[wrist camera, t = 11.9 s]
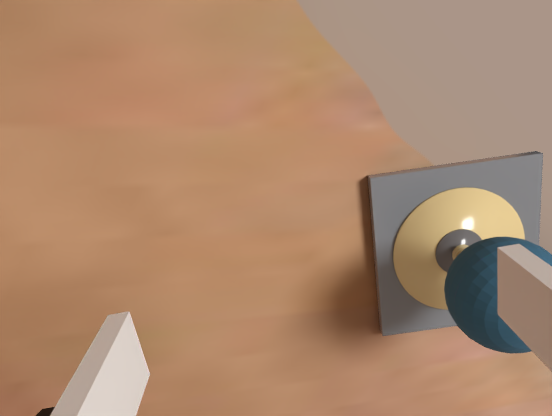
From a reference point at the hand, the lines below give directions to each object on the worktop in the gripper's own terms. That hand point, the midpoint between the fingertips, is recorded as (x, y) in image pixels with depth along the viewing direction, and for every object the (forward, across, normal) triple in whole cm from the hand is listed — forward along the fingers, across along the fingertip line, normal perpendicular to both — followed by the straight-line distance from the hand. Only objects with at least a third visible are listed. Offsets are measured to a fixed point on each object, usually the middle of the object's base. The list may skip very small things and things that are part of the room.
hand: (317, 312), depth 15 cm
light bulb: (+22, +15, -11) cm, 29 cm away
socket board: (+23, +15, -11) cm, 30 cm away
